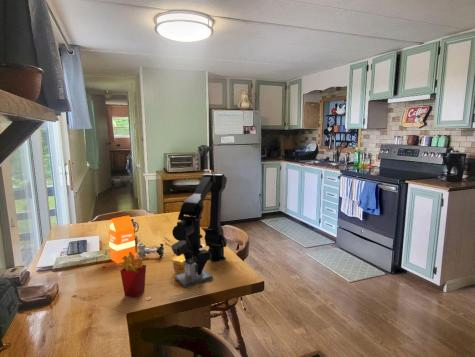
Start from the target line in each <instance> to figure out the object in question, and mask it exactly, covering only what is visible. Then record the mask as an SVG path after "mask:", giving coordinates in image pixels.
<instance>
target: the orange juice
mask: <svg viewBox="0 0 475 357" xmlns="http://www.w3.org/2000/svg"><path fill="white" fill-rule="evenodd" d="M135 236H136V235H135V227H134V225H133V222H132V218H131V216H130V215H125V216H119V217H113V218H111V219H110V223H109V226H108V239H109V240H108V242H109V244H108V245H109V255H110V256H109V257H110V258H111V259H110V260H111V261H113V262H115V263H116V264H122V263H124V260H123V259H122V258H123V257H124V256H127V257H128V255H130V254H129V252H131V253H132V254H133V255H134V257H135V258H136V259H137V255H136V254H137V253H136V240H135ZM130 260H131V258H130ZM131 261H132V260H131Z"/></svg>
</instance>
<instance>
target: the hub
mask: <svg viewBox="0 0 475 357" xmlns="http://www.w3.org/2000/svg"><path fill="white" fill-rule="evenodd" d="M184 273H185V277H186V278H187V279H198V278H201V277H202V275H203V271H202V273H201V275H198V273H197V268H196V263H195V262H194V261H193V257H192V258H189V259H187V260H185V259H184Z"/></svg>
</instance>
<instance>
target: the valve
mask: <svg viewBox="0 0 475 357" xmlns="http://www.w3.org/2000/svg"><path fill="white" fill-rule="evenodd" d="M159 244H160V245H159V246H158V248H152V249H151V248H150V247H146V243H144V242H141V243H137V244H136V254H137V255H136V257H137V259H138V258H140V257H141V258H143V257H145V256H146V255H150V254H151V253H153V254H154V253H157V254H158V255H159V258H163V257H164V254H165V252H164V250H165V247H164V244H163V243H159ZM162 256H163V257H162ZM146 257H147V256H146Z"/></svg>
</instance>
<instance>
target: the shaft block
mask: <svg viewBox="0 0 475 357" xmlns="http://www.w3.org/2000/svg"><path fill="white" fill-rule="evenodd" d="M174 276H175V280H176V281H177V282H179V284H180V285H182V287H184V288H188V287H192V286H195V285H198V284H202V283H205V282H209V281H212V280H214V279H213V278H214V277H213V274H211V273H210V272H208V271H207V270H206V269H205V268H204V269H203V275H202V277H201V278H198V279H187V278H186V277H185V272H181V273H178V274H175V275H174Z"/></svg>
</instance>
